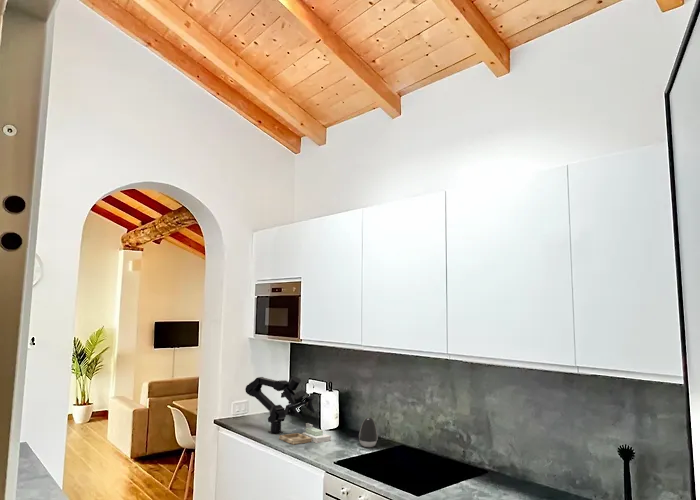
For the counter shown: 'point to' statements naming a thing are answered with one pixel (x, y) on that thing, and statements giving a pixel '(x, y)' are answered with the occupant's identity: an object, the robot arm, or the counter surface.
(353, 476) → the counter surface
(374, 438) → the egg shaped speaker
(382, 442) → the counter surface
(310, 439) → the tray
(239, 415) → the counter surface
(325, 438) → the housing
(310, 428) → the caddy
